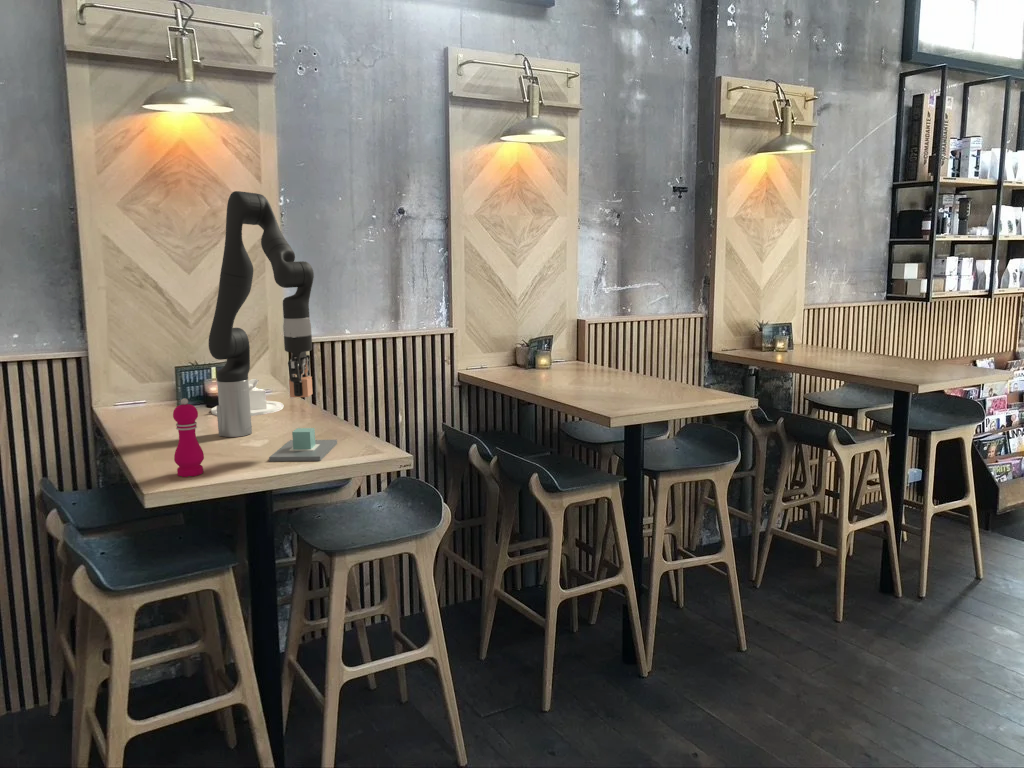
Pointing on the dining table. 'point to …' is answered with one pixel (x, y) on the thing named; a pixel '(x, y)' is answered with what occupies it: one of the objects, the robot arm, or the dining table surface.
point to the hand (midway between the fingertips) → (301, 393)
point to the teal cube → (303, 438)
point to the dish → (258, 401)
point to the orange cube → (305, 386)
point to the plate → (303, 452)
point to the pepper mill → (187, 441)
